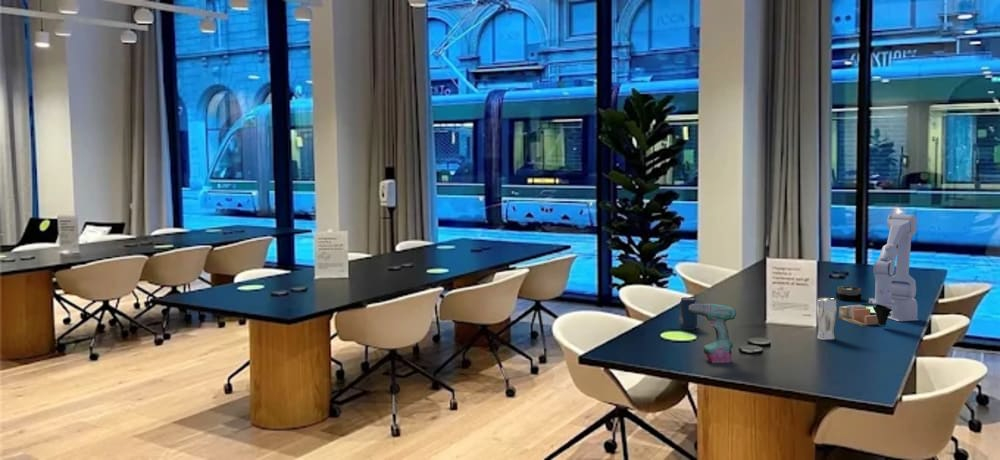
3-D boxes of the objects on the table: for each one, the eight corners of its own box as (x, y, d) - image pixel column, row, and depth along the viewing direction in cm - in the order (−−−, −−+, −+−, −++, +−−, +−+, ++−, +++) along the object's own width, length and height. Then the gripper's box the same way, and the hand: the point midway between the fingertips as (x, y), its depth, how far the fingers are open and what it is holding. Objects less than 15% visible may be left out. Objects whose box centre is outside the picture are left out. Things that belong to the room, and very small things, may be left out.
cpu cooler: (863, 289, 369) (840, 289, 370) (863, 301, 369) (840, 301, 371) (857, 285, 379) (834, 285, 380) (856, 297, 380) (834, 297, 381)
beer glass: (835, 336, 304) (836, 298, 302) (836, 341, 297) (837, 301, 296) (815, 335, 306) (816, 297, 305) (816, 339, 300) (817, 300, 298)
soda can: (700, 327, 323) (700, 298, 322) (691, 330, 318) (691, 300, 317) (685, 325, 328) (685, 296, 327) (676, 328, 323) (676, 298, 322)
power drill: (685, 358, 277) (685, 302, 275) (731, 356, 278) (731, 300, 276) (692, 364, 269) (692, 306, 267) (739, 362, 271) (739, 304, 269)
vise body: (861, 316, 337) (861, 305, 337) (885, 324, 322) (885, 312, 322) (838, 318, 335) (839, 306, 335) (862, 326, 320) (862, 314, 320)
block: (859, 318, 334) (859, 304, 334) (865, 320, 330) (866, 306, 330) (846, 319, 333) (847, 305, 333) (852, 321, 329) (852, 307, 329)
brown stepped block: (867, 319, 331) (868, 308, 330) (880, 324, 323) (880, 312, 322) (851, 321, 329) (852, 309, 329) (863, 325, 321) (864, 313, 321)
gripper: (862, 287, 321) (861, 321, 322) (886, 294, 307) (885, 329, 308) (878, 287, 322) (877, 320, 324) (902, 293, 308) (901, 327, 310)
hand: (882, 324), depth 316 cm, fingers closed
